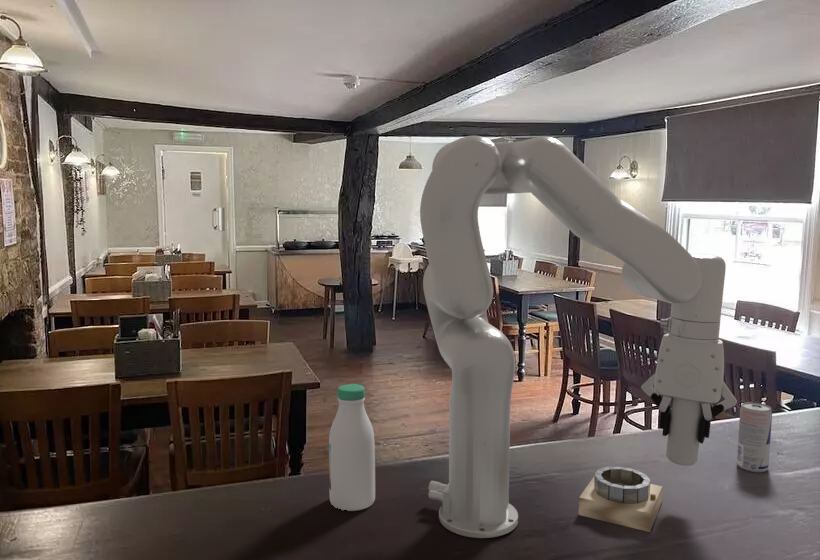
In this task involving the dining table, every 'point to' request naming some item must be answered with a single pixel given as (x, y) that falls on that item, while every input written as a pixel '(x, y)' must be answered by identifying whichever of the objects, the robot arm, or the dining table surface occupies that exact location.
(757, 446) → the energy drink
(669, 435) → the beverage can
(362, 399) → the milk bottle
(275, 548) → the dining table surface
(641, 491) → the mount ring
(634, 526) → the mount block
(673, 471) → the dining table surface
